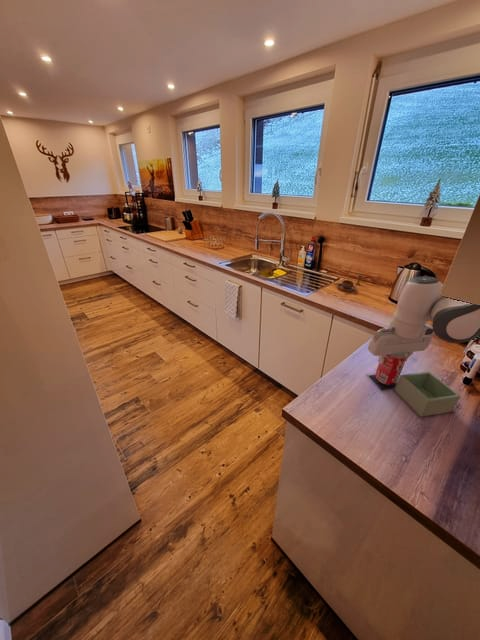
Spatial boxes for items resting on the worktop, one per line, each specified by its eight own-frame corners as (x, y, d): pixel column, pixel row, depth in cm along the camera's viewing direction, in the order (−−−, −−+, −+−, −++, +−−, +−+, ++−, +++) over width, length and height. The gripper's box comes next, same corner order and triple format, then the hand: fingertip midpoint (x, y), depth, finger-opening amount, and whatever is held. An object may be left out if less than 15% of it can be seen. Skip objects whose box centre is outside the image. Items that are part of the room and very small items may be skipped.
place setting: (331, 284, 178) (333, 276, 175) (358, 283, 181) (360, 275, 178) (344, 294, 163) (347, 285, 160) (373, 293, 166) (376, 284, 163)
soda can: (395, 377, 95) (406, 349, 89) (396, 389, 89) (408, 361, 83) (374, 371, 97) (383, 344, 91) (374, 383, 91) (384, 355, 86)
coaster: (385, 374, 97) (386, 373, 97) (399, 387, 91) (399, 386, 91) (369, 376, 96) (369, 375, 96) (381, 389, 90) (382, 389, 90)
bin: (422, 385, 92) (429, 371, 89) (451, 411, 82) (461, 396, 79) (393, 389, 90) (400, 375, 87) (420, 416, 80) (428, 401, 77)
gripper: (383, 334, 78) (370, 371, 84) (440, 329, 82) (424, 364, 88) (370, 324, 83) (359, 359, 90) (424, 319, 87) (410, 353, 94)
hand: (392, 361), depth 89 cm, fingers closed on soda can, 7 cm apart
